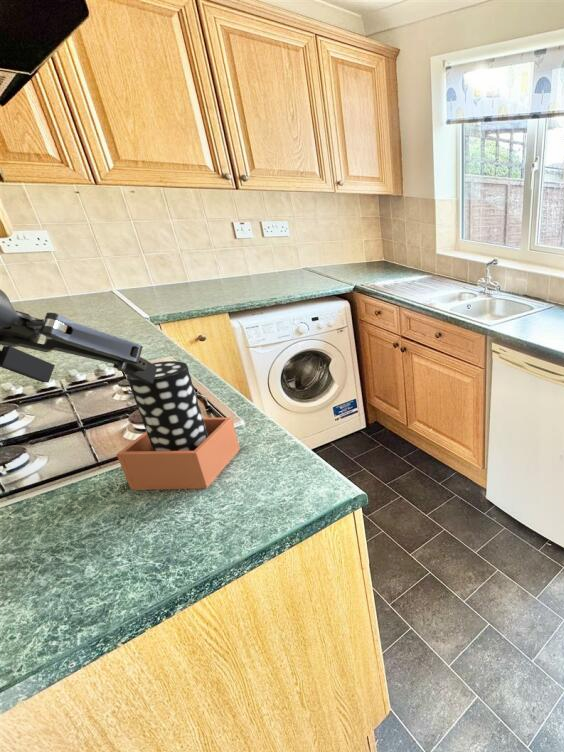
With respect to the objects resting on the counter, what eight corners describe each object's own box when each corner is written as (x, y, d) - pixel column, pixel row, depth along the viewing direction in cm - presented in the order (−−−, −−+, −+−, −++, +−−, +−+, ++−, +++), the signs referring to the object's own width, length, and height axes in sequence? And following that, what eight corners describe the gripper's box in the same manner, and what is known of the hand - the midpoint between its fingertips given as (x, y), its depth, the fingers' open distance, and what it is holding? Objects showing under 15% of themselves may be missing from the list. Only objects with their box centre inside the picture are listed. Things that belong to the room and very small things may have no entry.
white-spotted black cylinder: (159, 462, 81) (124, 367, 72) (210, 448, 86) (184, 357, 78) (164, 484, 75) (127, 384, 67) (218, 467, 80) (190, 372, 72)
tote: (131, 490, 75) (116, 454, 71) (174, 450, 86) (163, 417, 83) (207, 488, 76) (196, 453, 73) (240, 449, 87) (231, 417, 84)
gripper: (-247, 327, 38) (-7, 398, 58) (59, 334, 41) (188, 399, 61) (-202, 259, 41) (13, 349, 61) (82, 270, 44) (199, 352, 64)
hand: (101, 374), depth 61 cm, fingers open, 13 cm apart
